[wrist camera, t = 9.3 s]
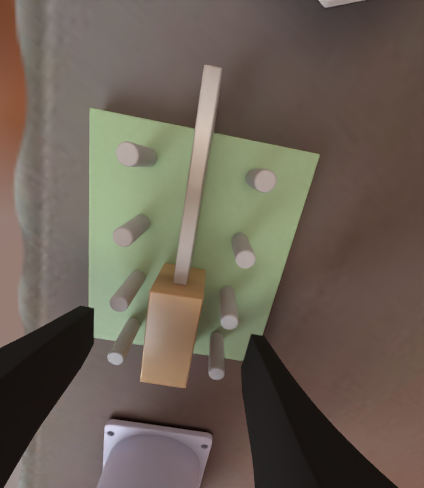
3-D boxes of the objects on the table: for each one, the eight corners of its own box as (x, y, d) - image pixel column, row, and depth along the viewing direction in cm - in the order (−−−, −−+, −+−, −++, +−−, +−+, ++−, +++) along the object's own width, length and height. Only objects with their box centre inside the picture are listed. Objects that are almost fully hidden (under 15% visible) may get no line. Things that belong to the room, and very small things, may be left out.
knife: (191, 344, 13) (185, 389, 11) (154, 339, 13) (139, 382, 10) (240, 92, 9) (251, 61, 6) (186, 80, 9) (174, 44, 6)
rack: (251, 350, 15) (261, 404, 11) (96, 325, 14) (59, 374, 11) (311, 155, 11) (354, 149, 7) (100, 112, 10) (45, 86, 7)
